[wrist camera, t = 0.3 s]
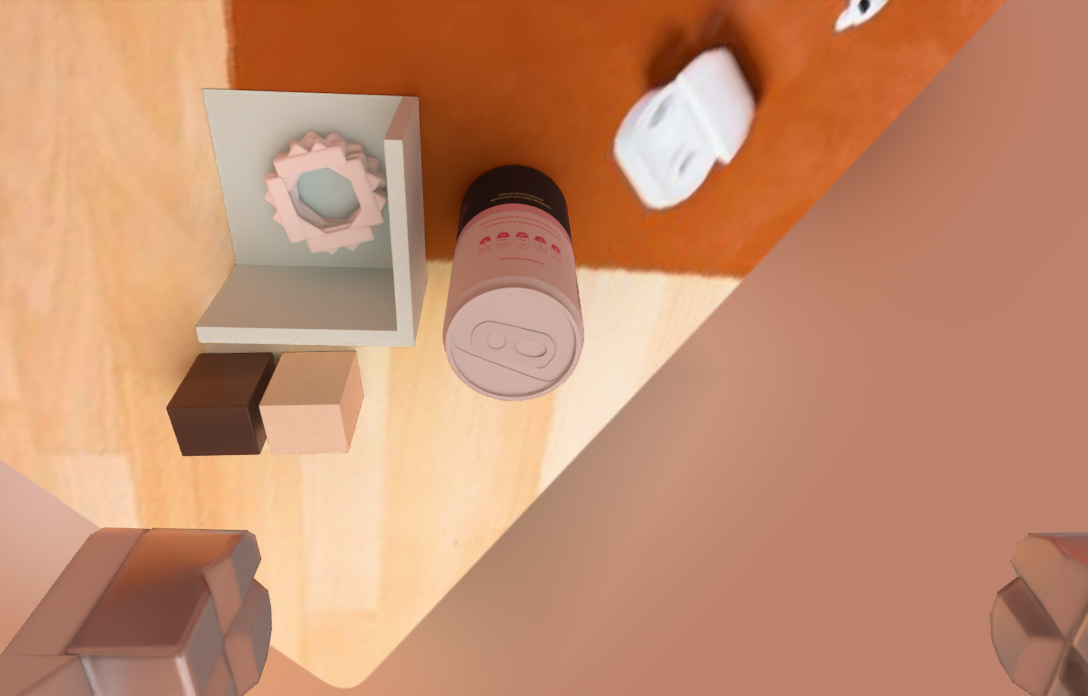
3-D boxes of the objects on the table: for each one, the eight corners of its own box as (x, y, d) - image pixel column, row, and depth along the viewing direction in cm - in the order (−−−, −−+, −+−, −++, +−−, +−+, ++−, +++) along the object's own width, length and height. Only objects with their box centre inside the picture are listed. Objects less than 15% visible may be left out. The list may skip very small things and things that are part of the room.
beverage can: (549, 271, 50) (560, 416, 37) (450, 246, 49) (427, 387, 36) (581, 178, 47) (604, 304, 34) (475, 149, 45) (460, 268, 33)
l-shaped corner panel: (418, 96, 44) (402, 140, 37) (426, 283, 50) (414, 346, 44) (202, 88, 43) (148, 131, 37) (239, 278, 50) (199, 342, 43)
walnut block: (198, 353, 53) (165, 407, 48) (272, 352, 53) (247, 406, 48) (212, 400, 55) (182, 456, 50) (283, 398, 55) (260, 454, 50)
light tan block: (282, 352, 53) (258, 405, 48) (356, 350, 53) (339, 404, 48) (293, 398, 55) (271, 454, 50) (363, 397, 55) (348, 453, 50)
